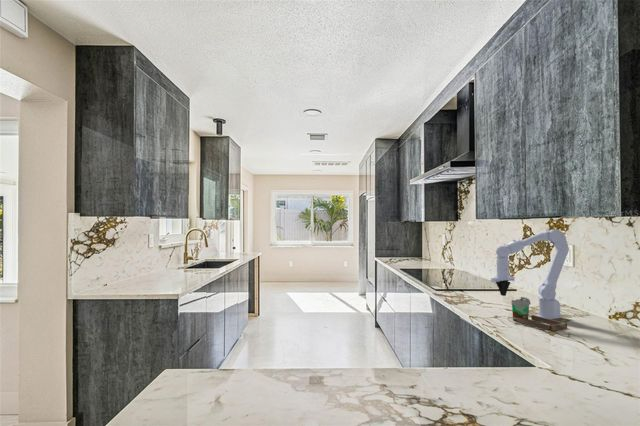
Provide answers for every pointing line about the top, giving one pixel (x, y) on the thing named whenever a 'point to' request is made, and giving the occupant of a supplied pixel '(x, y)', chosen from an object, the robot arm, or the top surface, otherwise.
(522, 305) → the food container
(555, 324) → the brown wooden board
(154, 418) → the top surface
